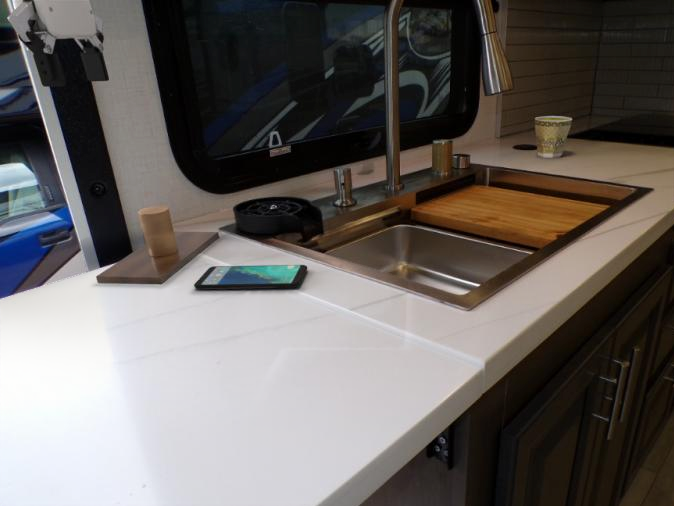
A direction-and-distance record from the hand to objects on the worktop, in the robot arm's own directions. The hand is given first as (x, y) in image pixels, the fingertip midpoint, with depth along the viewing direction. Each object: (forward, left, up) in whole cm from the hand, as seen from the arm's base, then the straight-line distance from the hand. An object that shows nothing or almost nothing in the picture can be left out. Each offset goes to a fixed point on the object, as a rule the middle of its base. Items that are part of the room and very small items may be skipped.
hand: (78, 83), depth 76 cm
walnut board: (+8, -2, -26) cm, 28 cm away
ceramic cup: (+81, +80, -26) cm, 117 cm away
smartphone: (+26, -10, -26) cm, 38 cm away
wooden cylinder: (+8, -2, -25) cm, 27 cm away
